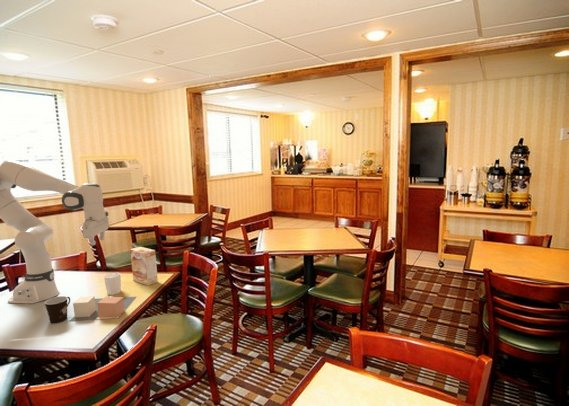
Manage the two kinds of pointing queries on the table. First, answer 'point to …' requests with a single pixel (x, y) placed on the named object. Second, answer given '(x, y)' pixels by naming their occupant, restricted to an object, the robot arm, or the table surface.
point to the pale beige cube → (84, 306)
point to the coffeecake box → (144, 265)
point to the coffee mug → (57, 309)
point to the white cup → (113, 283)
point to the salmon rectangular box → (111, 307)
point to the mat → (96, 317)
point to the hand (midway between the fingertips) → (97, 242)
